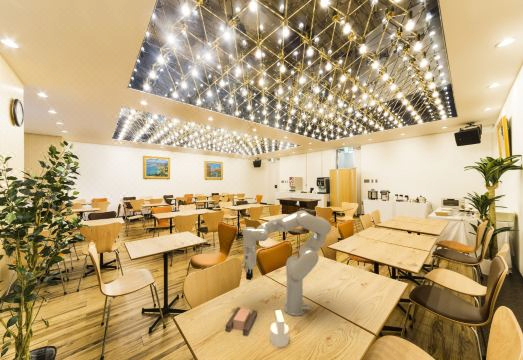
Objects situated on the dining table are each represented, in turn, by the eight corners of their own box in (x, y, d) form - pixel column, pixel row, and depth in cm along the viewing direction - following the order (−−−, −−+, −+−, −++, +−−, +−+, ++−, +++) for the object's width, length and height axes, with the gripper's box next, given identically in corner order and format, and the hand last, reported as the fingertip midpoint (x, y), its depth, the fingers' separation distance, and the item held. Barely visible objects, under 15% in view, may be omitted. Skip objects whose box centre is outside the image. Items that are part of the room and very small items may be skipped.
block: (250, 318, 119) (250, 310, 119) (243, 331, 110) (243, 321, 110) (240, 316, 121) (240, 308, 121) (233, 328, 111) (233, 319, 111)
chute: (257, 315, 121) (257, 310, 121) (247, 336, 106) (247, 330, 106) (237, 312, 125) (237, 307, 125) (225, 331, 109) (225, 325, 109)
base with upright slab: (269, 333, 107) (269, 310, 107) (286, 332, 108) (286, 309, 108) (271, 348, 98) (271, 322, 98) (290, 346, 99) (290, 321, 99)
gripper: (251, 253, 118) (251, 285, 118) (259, 244, 133) (259, 273, 133) (238, 251, 120) (238, 284, 120) (248, 243, 135) (248, 272, 135)
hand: (249, 278), depth 127 cm, fingers closed
